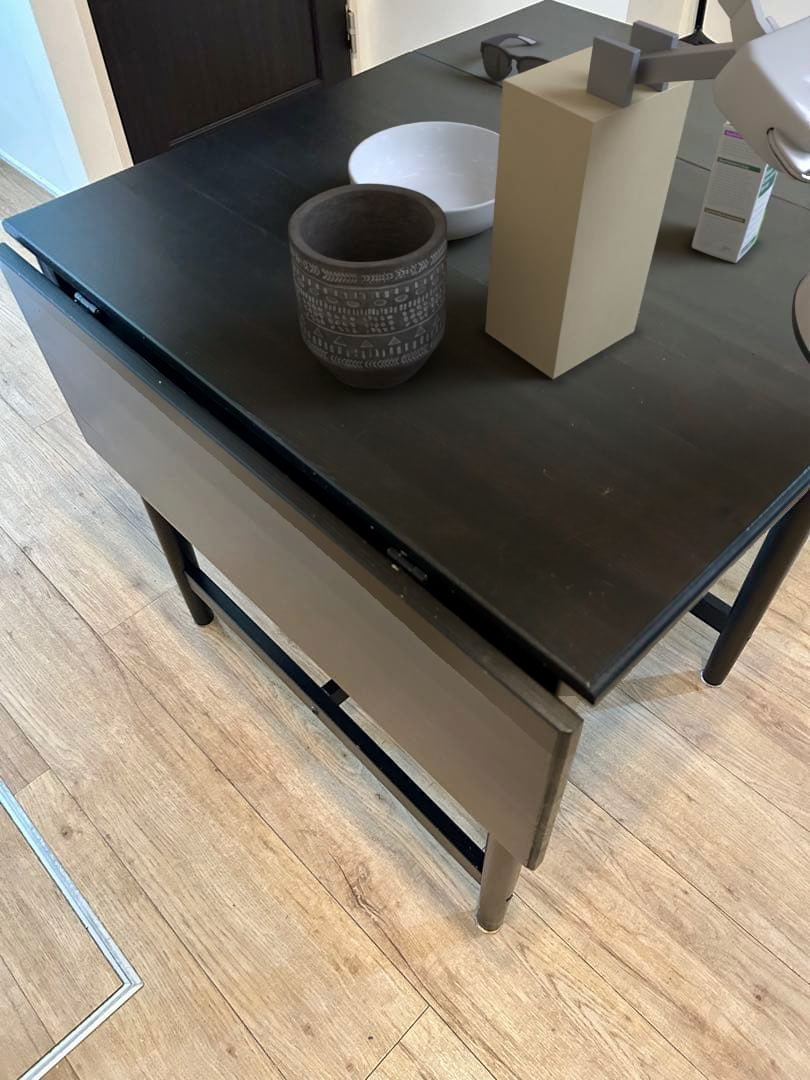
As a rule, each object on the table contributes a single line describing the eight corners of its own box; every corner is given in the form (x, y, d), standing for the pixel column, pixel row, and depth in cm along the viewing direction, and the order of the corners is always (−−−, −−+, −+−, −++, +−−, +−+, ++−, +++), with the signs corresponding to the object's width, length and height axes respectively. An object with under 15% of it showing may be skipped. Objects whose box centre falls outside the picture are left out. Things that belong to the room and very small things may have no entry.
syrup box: (736, 264, 94) (779, 136, 83) (688, 248, 97) (723, 120, 85) (756, 242, 97) (800, 115, 86) (709, 226, 100) (745, 100, 88)
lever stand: (634, 331, 87) (708, 23, 65) (553, 379, 82) (602, 65, 60) (565, 289, 92) (611, -12, 70) (485, 331, 87) (506, 25, 65)
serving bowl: (345, 264, 96) (340, 208, 90) (357, 174, 109) (354, 120, 104) (526, 265, 95) (533, 208, 90) (516, 174, 108) (521, 120, 103)
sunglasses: (465, 74, 128) (469, 38, 124) (526, 53, 137) (531, 18, 134) (555, 103, 121) (562, 65, 117) (613, 79, 130) (621, 43, 127)
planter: (368, 300, 91) (360, 167, 80) (472, 350, 85) (480, 214, 74) (276, 365, 84) (253, 230, 73) (383, 425, 79) (376, 288, 67)
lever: (831, 66, 55) (834, 24, 53) (804, 78, 54) (806, 36, 52) (655, 79, 65) (653, 45, 64) (629, 90, 64) (627, 55, 63)
